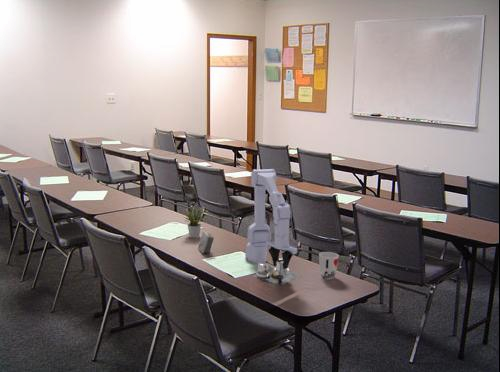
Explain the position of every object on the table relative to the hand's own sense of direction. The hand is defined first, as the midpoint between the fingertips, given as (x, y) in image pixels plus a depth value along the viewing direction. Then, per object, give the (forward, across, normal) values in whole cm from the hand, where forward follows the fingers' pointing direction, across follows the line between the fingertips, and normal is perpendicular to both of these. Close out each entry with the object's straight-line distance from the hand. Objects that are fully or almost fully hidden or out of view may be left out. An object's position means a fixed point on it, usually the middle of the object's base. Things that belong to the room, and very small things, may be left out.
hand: (280, 266), depth 212 cm
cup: (+8, -10, -20) cm, 24 cm away
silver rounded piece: (+6, +9, 0) cm, 11 cm away
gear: (+2, 0, -1) cm, 3 cm away
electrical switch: (+7, +53, -8) cm, 54 cm away
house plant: (+7, +74, -23) cm, 78 cm away
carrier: (+7, +5, -4) cm, 10 cm away
